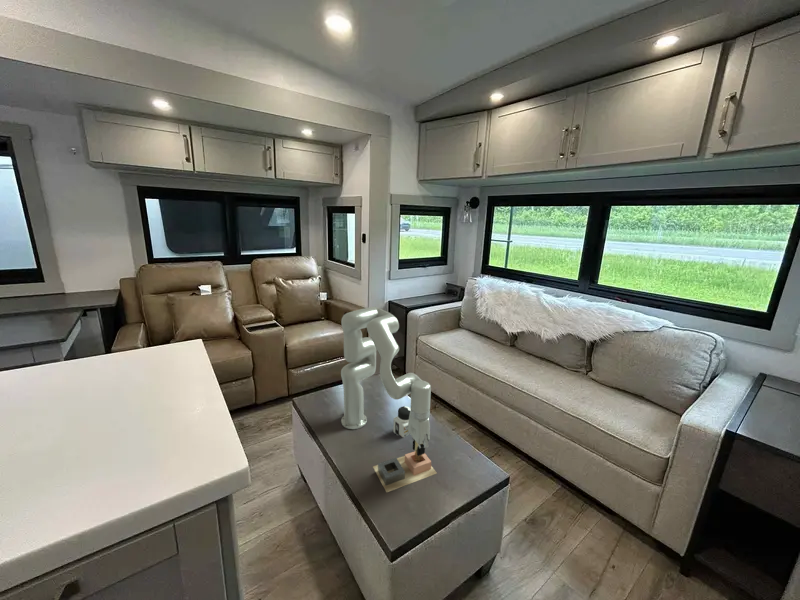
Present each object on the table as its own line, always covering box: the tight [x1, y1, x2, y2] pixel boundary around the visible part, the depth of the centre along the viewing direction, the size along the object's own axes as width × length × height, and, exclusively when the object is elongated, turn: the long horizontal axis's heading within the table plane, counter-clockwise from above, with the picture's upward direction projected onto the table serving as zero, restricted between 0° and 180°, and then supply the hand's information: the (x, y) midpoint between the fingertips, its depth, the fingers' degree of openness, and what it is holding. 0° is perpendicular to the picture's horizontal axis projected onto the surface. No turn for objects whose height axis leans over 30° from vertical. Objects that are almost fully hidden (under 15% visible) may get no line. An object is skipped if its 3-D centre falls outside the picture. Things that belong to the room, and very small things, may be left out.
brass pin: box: [414, 441, 423, 461], centre depth 133 cm, size 3×3×9 cm
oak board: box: [372, 455, 438, 493], centre depth 133 cm, size 14×22×2 cm, turn 116°
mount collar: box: [377, 457, 405, 485], centre depth 130 cm, size 8×8×4 cm
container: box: [392, 405, 411, 439], centre depth 155 cm, size 8×8×13 cm
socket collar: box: [404, 450, 432, 475], centre depth 135 cm, size 8×8×4 cm
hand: (418, 451), depth 134 cm, fingers closed on brass pin, 3 cm apart
